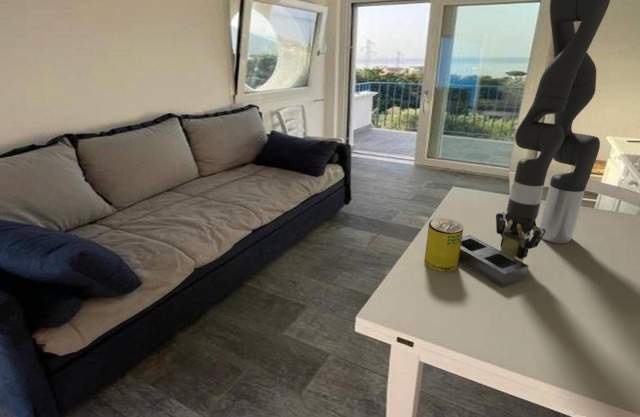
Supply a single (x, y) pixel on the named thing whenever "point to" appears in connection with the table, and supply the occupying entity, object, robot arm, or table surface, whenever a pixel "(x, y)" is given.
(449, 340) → the table surface
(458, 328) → the table surface
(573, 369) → the table surface
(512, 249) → the tan banded block
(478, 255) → the cinder block
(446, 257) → the beverage can
